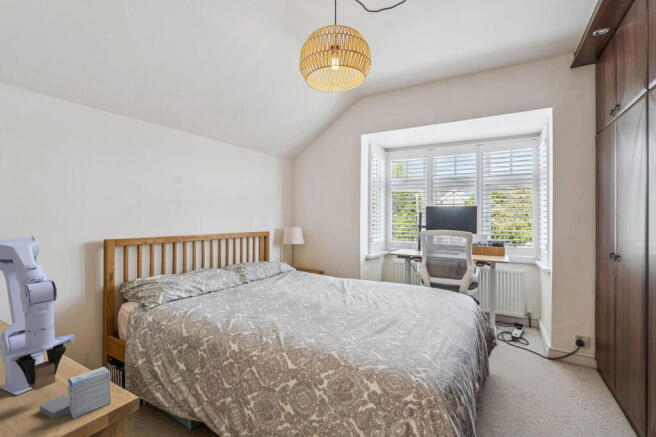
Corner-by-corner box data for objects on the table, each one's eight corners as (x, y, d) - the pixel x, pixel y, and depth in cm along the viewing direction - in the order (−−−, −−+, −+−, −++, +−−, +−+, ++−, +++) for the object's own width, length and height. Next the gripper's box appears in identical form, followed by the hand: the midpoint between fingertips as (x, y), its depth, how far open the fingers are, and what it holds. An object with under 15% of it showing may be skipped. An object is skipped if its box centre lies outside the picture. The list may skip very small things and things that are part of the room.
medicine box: (105, 397, 85) (104, 365, 85) (111, 403, 82) (110, 370, 82) (68, 412, 79) (67, 378, 79) (73, 419, 76) (72, 383, 76)
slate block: (39, 413, 79) (39, 405, 79) (63, 402, 84) (63, 395, 84) (54, 421, 76) (53, 413, 76) (78, 409, 81) (77, 401, 81)
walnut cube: (28, 386, 82) (27, 367, 82) (47, 379, 86) (46, 360, 86) (36, 389, 81) (35, 370, 81) (55, 382, 84) (54, 363, 84)
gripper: (10, 340, 75) (12, 397, 75) (79, 321, 88) (81, 369, 88) (-4, 336, 78) (-2, 390, 78) (66, 317, 91) (67, 364, 91)
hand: (41, 378), depth 83 cm, fingers closed on walnut cube, 4 cm apart
